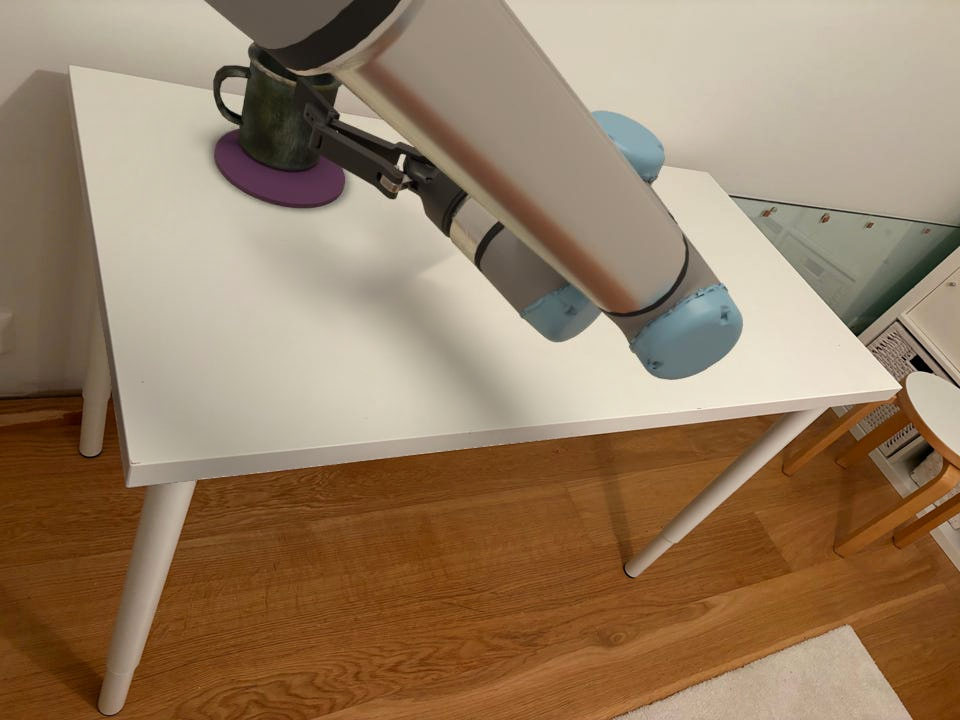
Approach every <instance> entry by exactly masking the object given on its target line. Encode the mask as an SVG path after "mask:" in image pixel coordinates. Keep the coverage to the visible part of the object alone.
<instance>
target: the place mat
mask: <svg viewBox="0 0 960 720" xmlns="http://www.w3.org/2000/svg"><path fill="white" fill-rule="evenodd" d="M238 133H239V128H236V129H233V130H230V131H228V132H226V133H225V134H223V135H222V136H221V137H220V138H219V139H218V140H217V142H216V144H215V147H214V161H215V164H216V167H217V168H218V170H219V171H220V173H221V174H222V175H223V176H224V178H225V179H226V180H227V181H228V182H229V183H231V184H232V185H233V186H235V187H236V188H237V189H239V190H240V191H242V192H244V193H246V194H247V195H250V196H252V197H254V198H256V199H259V200H261V201H263V202H267V203H269V204H273V205H277V206H282V207H288V208H297V209H298V208H299V209H301V208H304V209H305V208H306V209H308V208H316V207H322V206H324V205H328V204H330V203H332V202H334V201H335V200H336V199H337V198H339V196H341V195H342V192H343V191H344V188H345V184H346V176H345V172H344V169H343V168H342V167H340V166H338V165H336V164H335V163H333V162H331V161H329V160H328V159H326V158H324V157H322V156H321V158H320V160H319V161H318V162H317V163H316V164H315V165H313V166H312V167H310V168H308V169H304V170H283V169H278V168H274V167H271V166H268V165H266V164H263V163H261V162H259V161H257V160H256V159H254V158H253V157H251V156H250V155H249V154H248V153H247V152H246V151H245V150H244V149H243V147H242V146H241V144H240V142H239V139H238Z"/></svg>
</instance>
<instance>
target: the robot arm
mask: <svg viewBox="0 0 960 720" xmlns="http://www.w3.org/2000/svg"><path fill="white" fill-rule="evenodd" d="M203 1H204V2H205V3H206V4H208V5H209V6H210V7H211V8H213V9H214V10H215V11H216V12H217V13H218V14H220V15H221V16H222V17H223V18H224V19H225V20H227V21H228V22H229V23H230V24H232V25H233V26H234V27H235V28H236V29H238V30H239V31H241V33H243V34H244V35H245V36H246V37H248V38H249V39H250V40H252V41H253V42H255V43H256V44H258V45H259V46H260V47H261V48H262V49H264V50H265V51H266V52H267V53H268V54H270V55H271V56H272V57H273V58H274V59H276V60H277V61H278V62H279V63H280V64H282V65H283V66H284V67H285V68H287V69H288V70H289V71H291V72H293V73H295V74H297V75H304V76H309V75H317V74H323V73H330V74H331V75H332V76H334V77H335V78H336V79H337V80H338V81H339V82H340V83H342V86H344V87H345V88H346V89H347V90H348V91H349V92H350V93H352V94H353V95H354V96H355V97H356V98H357V99H359V100H360V101H361V102H362V103H363V104H364V105H365V106H367V107H368V109H370V110H371V111H372V112H373V113H374V114H376V115H377V116H378V117H379V118H380V119H381V120H383V121H384V122H385V123H386V124H387V125H388V126H390V127H391V128H392V129H393V130H394V131H395V132H396V133H397V134H399V135H400V136H401V137H402V138H403V139H404V140H406V142H408V143H409V144H408V143H405V142H403V141H397V142H396V143H393V142H392V141H389V140H387V139H384V138H381V137H379V136H377V135H375V134H372V133H370V132H367V131H365V130H362V129H361V128H358V127H356V126H354V125H351V124H349V123H346V122H344V121H343V120H340V118H341V114H340V113H339V112H338V111H337V110H336V108H335V107H334V108H333V107H332V106H331V105H330V103H329V102H328V101H327V100H326V99H325V98H324V97H323V96H322V95H321V94H320V93H319V92H318V91H317V90H316V89H315V88H314V87H313V86H312V85H311V84H310V83H309V82H308V81H307V80H306V79H305V78H304V77H298V78H297V82H296V87H295V91H294V96H293V100H292V102H293V103H294V104H295V105H296V106H297V107H298V109H299V110H300V111H301V112H302V113H303V114H304V115H303V116H304V119H305V120H306V121H307V122H308V123H309V124H310V126H311V127H312V128H313V131H312V135H311V139H310V143H309V148H310V149H311V150H312V151H314V152H316V153H317V154H319V155H321V156H322V157H324V158H326V159H328V160H329V161H331V162H333V163H335V164H336V165H338V166H340V167H342V169H343V170H346V171H347V172H348V173H350V174H352V175H354V176H355V177H357V178H359V179H361V180H363V181H364V182H366V183H368V184H370V185H371V186H373V187H375V188H376V189H377V190H378V191H379V192H380V193H381V194H382V195H383V196H384V197H385V198H387V199H389V200H397V198H398V194H399V193H400V191H404V190H408V191H410V192H412V193H413V194H415V195H416V196H418V197H419V198H420V200H421V203H422V207H423V211H424V214H425V216H426V217H427V218H428V219H429V220H430V221H431V223H433V224H434V226H435V227H436V228H437V229H438V230H439V231H440V232H441V233H442V234H443V235H444V236H445V237H447V238H448V239H450V241H451V243H452V244H453V245H454V246H455V247H456V248H457V249H458V250H459V251H460V252H461V253H462V254H463V256H465V258H466V259H468V261H470V263H472V264H473V266H475V267H476V269H477V270H478V271H479V273H481V275H483V277H484V278H485V279H486V280H487V281H488V282H489V283H490V284H491V285H492V286H493V287H494V289H495V290H497V291H498V293H499V294H500V295H501V296H502V298H504V300H506V302H508V304H509V305H510V306H511V307H512V308H513V309H514V311H516V312H517V314H519V317H520V318H521V319H523V320H524V321H525V322H527V323H528V324H529V325H530V327H532V328H533V329H534V330H535V331H536V332H537V333H539V335H541V336H543V338H545V339H546V340H547V341H550V342H552V343H563V342H564V343H565V342H566V341H569V340H572V339H573V338H575V337H577V336H579V335H580V334H581V333H583V332H584V331H586V330H587V329H588V328H589V327H590V326H591V325H593V324H594V322H595V321H596V320H597V319H598V318H599V317H600V315H601V314H603V315H605V316H606V317H607V318H608V319H609V320H611V321H612V322H613V323H614V324H615V325H616V326H617V327H618V329H619V330H620V331H621V332H622V334H623V335H624V337H625V339H626V341H627V342H628V348H629V350H630V352H631V353H632V354H635V356H636V358H637V359H638V360H639V362H640V364H641V365H642V366H643V368H644V369H645V371H646V372H647V373H649V374H650V375H651V376H653V377H654V378H657V379H661V380H668V381H675V380H682V379H687V378H690V377H693V376H695V375H697V374H700V373H702V372H704V371H706V370H708V368H710V367H712V366H713V365H715V364H717V363H718V362H720V361H722V359H723V358H725V357H726V356H727V355H728V354H729V353H730V352H731V351H732V350H733V348H735V346H736V344H737V343H738V342H739V340H740V338H741V336H742V333H743V327H744V317H743V315H742V312H741V311H740V309H739V307H738V306H737V305H736V303H735V301H734V300H733V298H732V296H731V295H730V293H729V289H728V287H726V285H725V284H724V283H723V282H721V281H720V279H719V278H718V277H717V275H716V274H715V273H714V271H713V269H712V268H711V267H710V265H709V264H708V263H707V262H706V260H705V259H704V257H703V256H702V255H701V252H699V250H698V249H697V248H696V246H695V245H694V244H693V242H692V241H691V240H690V239H689V237H688V236H687V235H686V234H685V232H684V231H683V229H682V228H681V227H680V226H679V224H678V223H679V222H678V221H676V219H675V217H674V215H673V214H672V212H671V211H670V210H669V209H668V207H667V206H666V204H665V203H664V202H663V200H662V199H661V198H660V196H659V195H658V193H657V192H656V191H655V189H654V188H653V186H652V185H653V184H654V182H655V181H657V179H658V178H659V174H660V172H661V170H662V167H663V166H664V164H665V161H666V155H665V148H664V146H663V143H662V142H661V140H660V139H659V138H658V136H656V134H654V133H653V132H652V131H651V130H650V129H649V128H647V127H646V126H644V125H643V124H641V123H640V122H638V121H636V120H634V119H633V118H630V117H629V116H626V115H624V114H621V113H617V112H614V111H609V110H594V111H591V110H589V108H588V107H587V105H585V103H584V102H583V100H582V99H581V98H580V97H579V95H578V94H577V92H576V91H575V90H574V88H572V86H571V85H570V83H569V82H568V81H567V80H566V78H565V77H564V75H563V74H562V73H561V71H560V70H559V69H558V68H557V67H556V66H555V64H554V63H553V62H552V60H551V58H549V56H548V55H547V54H546V53H545V51H544V49H542V47H541V46H540V44H539V43H538V42H537V40H536V39H535V38H534V37H533V35H532V34H531V33H530V32H529V30H528V29H527V27H526V26H525V25H524V24H523V22H522V21H521V19H519V17H518V16H517V14H516V13H515V12H514V10H513V9H512V8H511V6H509V4H508V2H507V1H506V0H203ZM401 155H404V159H403V163H402V170H401V169H400V168H401V167H400V166H399V165H398V163H399V160H400V159H401Z"/></svg>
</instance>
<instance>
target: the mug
mask: <svg viewBox="0 0 960 720" xmlns="http://www.w3.org/2000/svg"><path fill="white" fill-rule="evenodd" d="M247 55H248V58H249V66H244V65H238V64H230V65H228V64H227V65H225V64H224V65H222V67H220V68H219V69H218V70H216V71H215V73H214V77H213V79H212V90H213V91H212V92H213V98H214V102H215V105H216V108H217V110H218V112H219V113H220V115H221V116H222V117H223V118H224V119H226V120H227V121H228V122H230V123H232V124H234V125H237V126H239V128H238V129H239V133H238V139H239V142H240V144H241V146H242V147H243V149H244V150H245V151H246V152H247V153H248V154H249V155H250V156H251V157H253V158H254V159H256V160H257V161H259V162H261V163H263V164H266V165H268V166H271V167H274V168H278V169H283V170H304V169H308V168H310V167H312V166H313V165H315V164H316V163H317V162H318V161H319V160H320V158H321V155H319V154H317V153H316V152H314V151H312V150H311V149H310V148H309V143H310V139H311V135H312V131H313V128H312V127H311V126H310V124H309V123H308V122H307V121H306V120H305V119H304V116H303V115H304V114H303V113H302V112H301V111H300V110H299V109H298V107H297V106H296V105H295V104H294V103H293V102H292V100H293V96H294V91H295V87H296V82H297V78H298V77H304V78H305V79H306V80H307V81H308V82H309V83H310V84H311V85H312V86H313V87H314V88H315V89H316V90H317V91H318V92H319V93H320V94H321V95H322V96H323V97H324V98H325V99H326V100H327V101H328V102H329V103H330V105H331V106H332V107H333V108H334V109H335V103H336V100H337V96H338V93H339V90H340V89H339V88H340V87H342V86H343V84H342V83H340V82H339V81H338V80H337V79H336V78H335V77H334V76H332V75H331V74H330V73H323V74H317V75H309V76H304V75H297V74H295V73H293V72H291V71H289V70H288V69H287V68H285V67H284V66H283V65H282V64H280V63H279V62H278V61H277V60H276V59H274V58H273V57H272V56H271V55H270V54H268V53H267V52H266V51H265V50H264V49H262V48H261V47H260V46H259V45H258V44H256V43H255V42H254V41H253V42H251V43H250V45H249V46H248V47H247ZM228 78H242V79H246V85H245V90H244V91H245V92H244V98H243V104H242V109H241V114H239V113H238V112H237V113H236V112H234V111H233V110H231V109H230V108H228V107H227V105H226V104H225V102H224V101H223V98H222V95H221V88H222V84H223V82H224V81H225V80H226V79H228Z"/></svg>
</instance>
